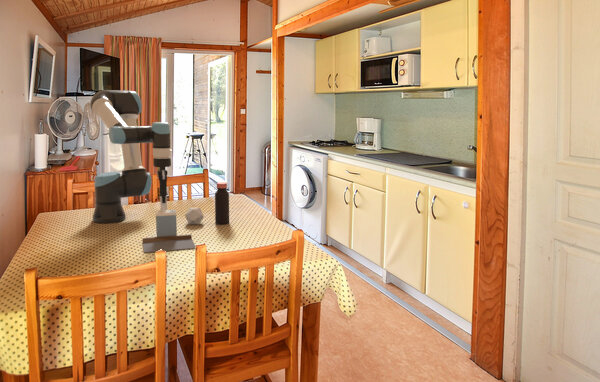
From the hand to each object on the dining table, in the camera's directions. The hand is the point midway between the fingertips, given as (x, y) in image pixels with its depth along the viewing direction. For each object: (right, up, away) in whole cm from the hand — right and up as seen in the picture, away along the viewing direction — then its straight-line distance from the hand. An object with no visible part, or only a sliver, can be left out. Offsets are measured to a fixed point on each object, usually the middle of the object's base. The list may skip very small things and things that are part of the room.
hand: (163, 209), depth 210 cm
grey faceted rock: (+10, -8, +17) cm, 21 cm away
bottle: (+23, -8, +19) cm, 31 cm away
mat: (+8, -14, -19) cm, 25 cm away
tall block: (+4, -12, -9) cm, 16 cm away
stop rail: (+5, -13, -12) cm, 19 cm away
